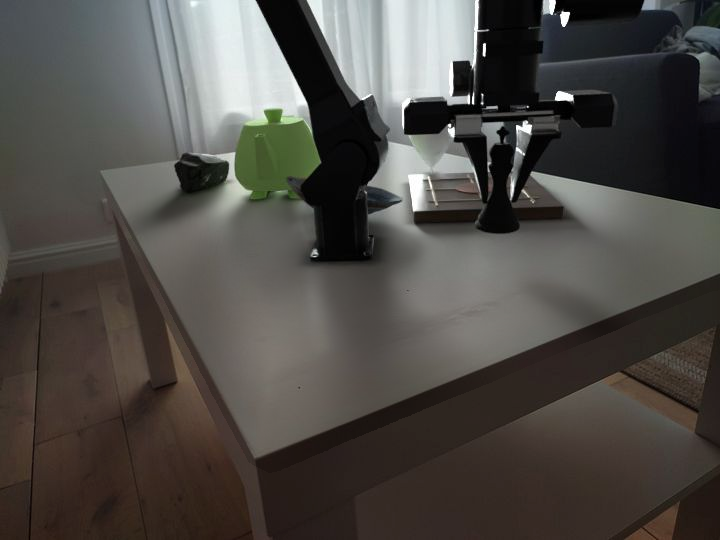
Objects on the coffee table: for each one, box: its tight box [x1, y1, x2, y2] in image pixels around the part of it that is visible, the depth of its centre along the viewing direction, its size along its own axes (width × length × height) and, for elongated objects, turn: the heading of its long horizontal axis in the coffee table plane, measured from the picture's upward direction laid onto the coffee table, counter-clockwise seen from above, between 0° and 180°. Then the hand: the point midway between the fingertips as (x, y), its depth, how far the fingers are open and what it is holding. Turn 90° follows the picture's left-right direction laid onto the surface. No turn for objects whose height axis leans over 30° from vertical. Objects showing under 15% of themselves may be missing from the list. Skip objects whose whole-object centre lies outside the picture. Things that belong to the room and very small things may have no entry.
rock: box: [173, 152, 230, 194], centre depth 89 cm, size 10×9×6 cm
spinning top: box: [408, 124, 453, 174], centre depth 88 cm, size 8×8×12 cm
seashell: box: [286, 176, 404, 215], centre depth 68 cm, size 15×12×5 cm
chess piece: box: [474, 125, 521, 235], centre depth 52 cm, size 4×4×10 cm
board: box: [408, 170, 565, 224], centre depth 74 cm, size 20×18×2 cm
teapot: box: [233, 107, 321, 200], centre depth 81 cm, size 20×13×13 cm
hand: (498, 202), depth 53 cm, fingers closed on chess piece, 2 cm apart
